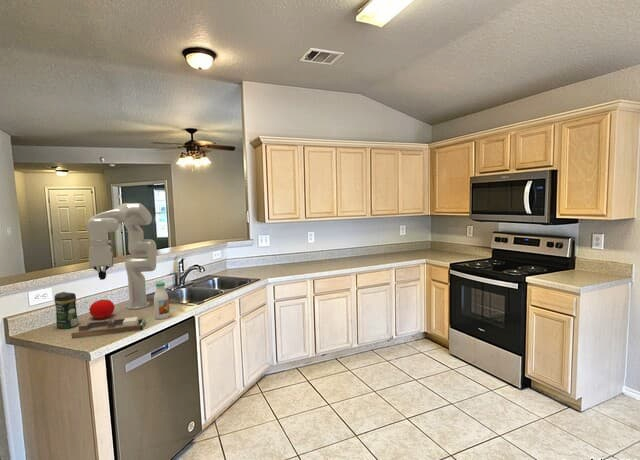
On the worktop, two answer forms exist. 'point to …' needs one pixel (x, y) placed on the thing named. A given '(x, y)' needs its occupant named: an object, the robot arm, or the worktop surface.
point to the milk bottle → (161, 302)
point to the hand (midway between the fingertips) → (102, 279)
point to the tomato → (101, 309)
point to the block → (130, 321)
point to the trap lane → (107, 331)
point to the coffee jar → (66, 310)
